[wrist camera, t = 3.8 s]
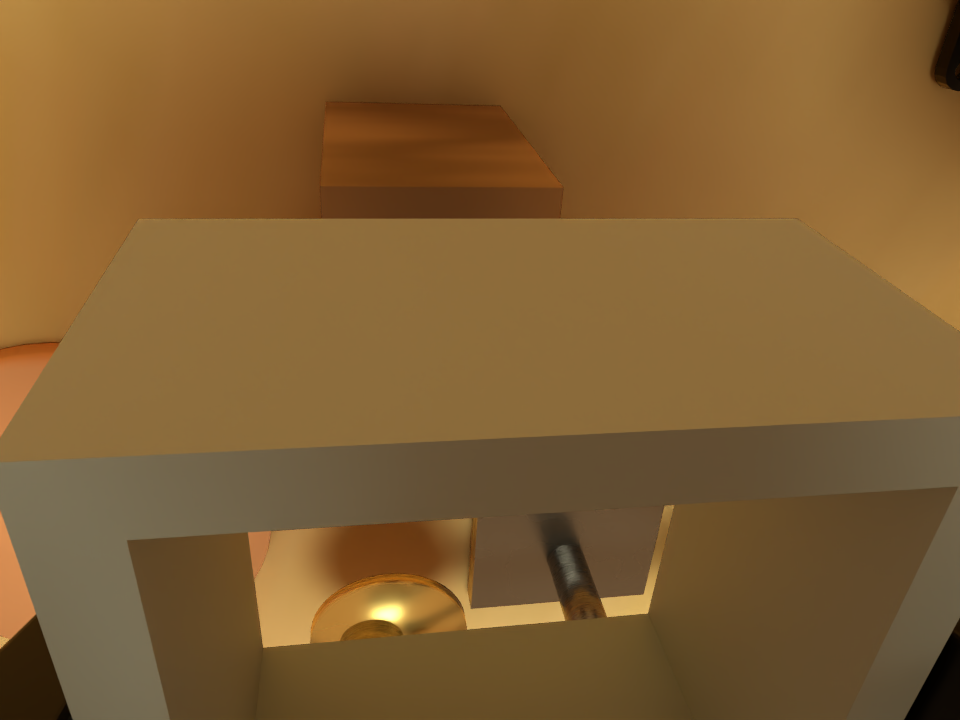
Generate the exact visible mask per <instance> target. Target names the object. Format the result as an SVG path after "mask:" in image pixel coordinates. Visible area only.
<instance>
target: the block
mask: <svg viewBox="0 0 960 720" xmlns="http://www.w3.org/2000/svg"><path fill="white" fill-rule="evenodd" d="M562 196H563V186H562V185H561V184H560V183H559V181H558V180H557V179H556V177H555V176H554V175H553V173H552V172H551V171H550V170H549V168H548V167H547V166H546V164H545V163H544V162H543V161H542V159H541V158H540V157H539V155H538V154H537V153H536V151H535V150H534V149H533V148H532V146H531V145H530V144H529V142H528V141H527V140H526V138H525V137H524V136H523V135H522V133H521V132H520V131H519V129H518V128H517V127H516V126H515V124H514V123H513V122H512V120H511V119H510V118H509V116H508V115H507V114H506V113H505V111H504V110H503V109H502V107H501V106H489V105H447V104H404V103H362V102H326V107H325V122H324V136H323V150H322V164H321V178H320V198H321V218H322V219H560V214H561V205H562Z"/></svg>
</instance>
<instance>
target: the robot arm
mask: <svg viewBox="0 0 960 720" xmlns="http://www.w3.org/2000/svg"><path fill="white" fill-rule="evenodd" d="M959 63H960V0H958V3H957V6H956V9H955V12H954V15H953V18H952V21H951V24H950V27H949V29H948V32H947V35H946V38H945V41H944V44H943V47H942V50H941V53H940V56H939V59H938V62H937V65H936V69H935V78H936V82H937V83H938V84H939V85H940V86H942V87H946V88H949V89H952V90H956V91H960V73H959V74H958V75H956V76H955V72H956V68H957V66H958V65H959ZM0 720H73V719H72V716H71V713H70V710H69V707H68V705H67V702H66V699H65V696H64V693H63V690H62V687H61V684H60V681H59V679H58V676H57V673H56V670H55V667H54V664H53V661H52V658H51V655H50V653H49V650H48V647H47V644H46V641H45V638H44V635H43V632H42V629H41V627H40V624H39V621H38V618H37V615H36V614H35V615H34V616H33V617H32V618H31V619H30V620H29V621H28V622H27V623H26V624H25V625H24V626H23V627H22V628H21V629H20V630H19V631H18V632H17V633H16V634H15V635H14V636H13V637H12V638H11V639H10V640H9V641H8V642H7V643H6V644H5V645H4V646H3V647H2V648H1V649H0ZM904 720H960V618H959V620H958V622H957V624H956V626H955V627H954V629H953V631H952V633H951V635H950V637H949V638H948V640H947V642H946V644H945V646H944V647H943V649H942V651H941V653H940V655H939V657H938V658H937V660H936V662H935V664H934V666H933V668H932V669H931V671H930V673H929V675H928V677H927V679H926V680H925V682H924V684H923V686H922V688H921V689H920V691H919V693H918V695H917V697H916V699H915V700H914V702H913V704H912V706H911V708H910V710H909V711H908V713H907V715H906V717H905V719H904Z"/></svg>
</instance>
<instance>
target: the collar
mask: <svg viewBox="0 0 960 720" xmlns="http://www.w3.org/2000/svg"><path fill="white" fill-rule="evenodd" d="M664 505H675V506H674V510H673V514H672V518H671V522H670V526H669V530H668V534H667V538H666V543H665V547H664V551H663V555H662V559H661V563H660V567H659V571H658V575H657V579H656V583H655V588H654V592H653V596H652V600H651V604H650V608H649V612H648V614H639V615H628V616H617V617H605V618H594V619H583V620H572V621H560V622H549V623H538V624H526V625H515V626H504V627H493V628H481V629H470V630H459V631H448V632H436V633H425V634H414V635H402V636H391V637H380V638H369V639H357V640H346V641H335V642H324V643H312V644H301V645H290V646H278V647H267V648H263V644H262V637H261V629H260V621H259V614H258V606H257V599H256V591H255V583H254V576H253V568H252V560H251V553H250V545H249V538H248V532H263V531H278V530H294V529H309V528H325V527H340V526H355V525H371V524H386V523H402V522H417V521H433V520H448V519H464V518H479V517H494V516H510V515H525V514H541V513H556V512H572V511H587V510H603V509H618V508H633V507H649V506H664ZM0 511H1V514H2V517H3V520H4V523H5V525H6V528H7V531H8V534H9V537H10V540H11V543H12V546H13V549H14V551H15V554H16V557H17V560H18V563H19V566H20V569H21V572H22V575H23V577H24V580H25V583H26V586H27V589H28V592H29V595H30V598H31V601H32V603H33V606H34V609H35V612H36V615H37V618H38V621H39V624H40V627H41V629H42V632H43V635H44V638H45V641H46V644H47V647H48V650H49V653H50V655H51V658H52V661H53V664H54V667H55V670H56V673H57V676H58V679H59V681H60V684H61V687H62V690H63V693H64V696H65V699H66V702H67V705H68V707H69V710H70V713H71V716H72V719H73V720H904V719H905V717H906V715H907V713H908V711H909V710H910V708H911V706H912V704H913V702H914V700H915V699H916V697H917V695H918V693H919V691H920V689H921V688H922V686H923V684H924V682H925V680H926V679H927V677H928V675H929V673H930V671H931V669H932V668H933V666H934V664H935V662H936V660H937V658H938V657H939V655H940V653H941V651H942V649H943V647H944V646H945V644H946V642H947V640H948V638H949V637H950V635H951V633H952V631H953V629H954V627H955V626H956V624H957V622H958V620H959V618H960V332H959V331H958V330H956V329H955V328H954V327H952V326H951V325H949V324H948V323H946V322H945V321H944V320H942V319H941V318H939V317H938V316H936V315H935V314H934V313H932V312H931V311H929V310H928V309H926V308H925V307H923V306H922V305H921V304H919V303H918V302H916V301H915V300H913V299H912V298H911V297H909V296H908V295H906V294H905V293H903V292H902V291H901V290H899V289H898V288H896V287H895V286H893V285H892V284H891V283H889V282H888V281H886V280H885V279H883V278H882V277H881V276H879V275H878V274H876V273H875V272H873V271H872V270H871V269H869V268H868V267H866V266H865V265H863V264H862V263H860V262H859V261H858V260H856V259H855V258H853V257H852V256H850V255H849V254H848V253H846V252H845V251H843V250H842V249H840V248H839V247H838V246H836V245H835V244H833V243H832V242H830V241H829V240H828V239H826V238H825V237H823V236H822V235H820V234H819V233H818V232H816V231H815V230H813V229H812V228H810V227H809V226H807V225H806V224H805V223H803V222H802V221H800V220H799V219H797V218H721V219H138V220H137V222H136V224H135V225H134V227H133V228H132V230H131V231H130V233H129V235H128V236H127V238H126V239H125V241H124V243H123V244H122V246H121V247H120V249H119V250H118V252H117V254H116V255H115V257H114V258H113V260H112V262H111V263H110V265H109V266H108V268H107V269H106V271H105V273H104V274H103V276H102V277H101V279H100V281H99V282H98V284H97V285H96V287H95V288H94V290H93V292H92V293H91V295H90V296H89V298H88V299H87V301H86V303H85V304H84V306H83V307H82V309H81V311H80V312H79V314H78V315H77V317H76V318H75V320H74V322H73V323H72V325H71V326H70V328H69V330H68V331H67V333H66V334H65V336H64V337H63V339H62V341H61V342H60V344H59V345H58V347H57V348H56V350H55V352H54V353H53V355H52V356H51V358H50V360H49V361H48V363H47V364H46V366H45V367H44V369H43V371H42V372H41V374H40V375H39V377H38V379H37V380H36V382H35V383H34V385H33V386H32V388H31V390H30V391H29V393H28V394H27V396H26V398H25V399H24V401H23V402H22V404H21V405H20V407H19V409H18V410H17V412H16V413H15V415H14V416H13V418H12V420H11V421H10V423H9V424H8V426H7V428H6V429H5V431H4V432H3V434H2V435H1V437H0Z"/></svg>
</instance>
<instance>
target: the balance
mask: <svg viewBox="0 0 960 720" xmlns="http://www.w3.org/2000/svg"><path fill="white" fill-rule="evenodd" d="M663 509H664V506H649V507H633V508H618V509H603V510H587V511H572V512H556V513H541V514H525V515H510V516H494V517H479V518H472V532H471V547H470V562H469V576H468V595H469V601H470V606H471V609H473V608H485V607H497V606H509V605H521V604H533V603H545V602H557V601H560V604H561V608H562V611H563V614H564V617H565V621H572V620H583V619H594V618H605V617H607V616H606V613H605V610H604V608H603V605H602V602H601V599H600V598H605V597H617V596H629V595H641V594H644V590H645V586H646V581H647V577H648V573H649V569H650V564H651V560H652V556H653V552H654V547H655V543H656V539H657V535H658V530H659V526H660V522H661V518H662V513H663ZM459 630H467V626H466V620H465V615H464V610H463V607H462V605H461V603H460V601H459V600H458V598H457V597H456V596H455V595H454V594H453V593H452V592H451V591H450V590H449V589H448V588H446V587H445V586H443V585H442V584H440V583H438V582H436V581H434V580H431V579H429V578H425V577H421V576H417V575H411V574H384V575H377V576H372V577H368V578H364V579H361V580H358V581H356V582H353V583H351V584H349V585H347V586H345V587H343V588H341V589H340V590H338V591H337V592H335V593H334V594H333V595H331V596H330V597H329V598H328V599H327V600H326V601H325V602H324V603H323V604H322V605H321V607H320V608H319V609H318V611H317V613H316V614H315V617H314V619H313V621H312V626H311V641H310V644H312V643H324V642H335V641H346V640H357V639H369V638H380V637H391V636H402V635H414V634H425V633H436V632H448V631H459Z"/></svg>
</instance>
